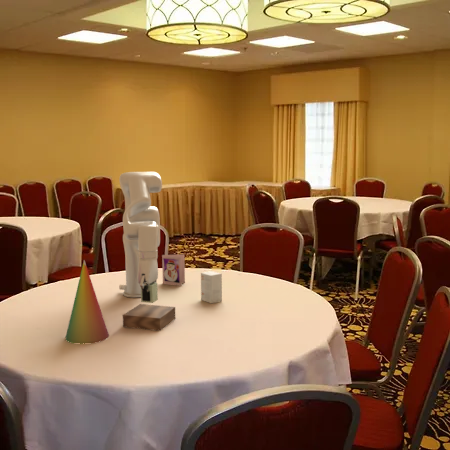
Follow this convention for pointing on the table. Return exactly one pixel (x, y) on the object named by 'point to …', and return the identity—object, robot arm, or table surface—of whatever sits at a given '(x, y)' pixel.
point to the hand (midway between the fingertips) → (149, 298)
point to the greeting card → (173, 269)
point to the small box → (211, 286)
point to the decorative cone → (86, 314)
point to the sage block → (151, 293)
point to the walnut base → (149, 317)
